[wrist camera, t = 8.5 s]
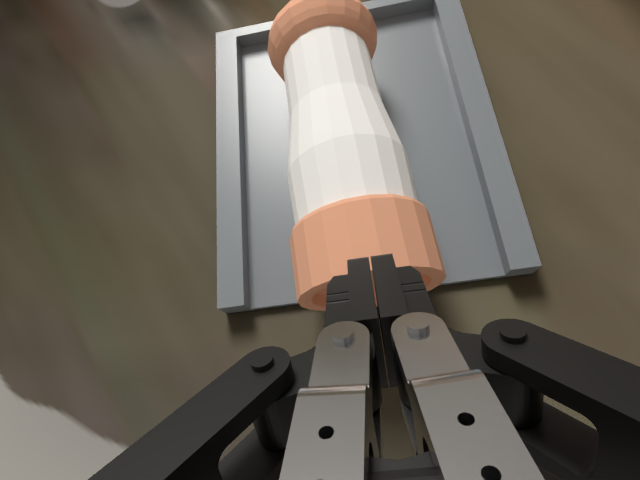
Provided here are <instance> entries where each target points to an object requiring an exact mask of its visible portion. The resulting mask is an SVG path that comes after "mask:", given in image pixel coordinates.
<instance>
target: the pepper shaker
mask: <svg viewBox="0 0 640 480" xmlns="http://www.w3.org/2000/svg"><path fill="white" fill-rule="evenodd" d="M376 45H377V27H376V24H375V22H374V19H373V17H372V14H371V13H370V12H369V10H368V9H367V8H366V7H365V6H364V5H363V4H362V3H361V2H360V1H359V0H291V1H290V2H289V3H288V4H287V5H286V6H285V7H284V8H283V9H282V10H281V11H280V12H279V13H278V14H277V16H276V18H275V20H274V22H273V24H272V26H271V29H270V33H269V39H268V50H267V51H268V54H269V58H270V61H271V64H272V66H273V68H274V69H275V71H276V72H277V73H278V75H279V76H280V77H281V78H282V80H283V81H284V82H285V86H286V94H287V101H288V109H289V116H290V134H289V156H288V177H287V178H288V184H289V190H290V196H291V202H292V208H293V214H294V220H295V226H294V227H293V230H292V233H291V237H290V248H291V256H292V264H293V272H294V280H295V288H296V296H297V302H298V304H299V305H300V306H301V307H303V308H306V309H309V310H316V311H326V296H327V284H328V283H329V282H330V280H331V279H332V278H333V276H338V275H346V274H348V268H347V260H349V259H356V258H363V257H369V263H370V270H371V276H372V283H373V289H374V296H375V302H376V307H377V299H376V292H375V285H374V278H373V271H372V264H371V257H370V256H377V255H384V254H391V253H392V255H393V258H394V262H395V265H396V267H404V266H412V267H413V268H415V269H416V270H417V271H419V272H420V274H421V276H422V279H423V282H424V284H425V287H426V291H427V292H428V291H430V290H432V289H434V288H435V287H437V286H438V285H440V284H441V283H443V281H444V280H445V278H446V273H445V269H444V265H443V262H442V258H441V254H440V251H439V247H438V243H437V240H436V236H435V232H434V229H433V225H432V221H431V218H430V214H429V212H428V211H427V209H426V207H425V206H424V205H423V204H422V203H421V202H419V201H418V200H417V196H416V191H415V187H414V183H413V178H412V174H411V169H410V165H409V161H408V156H407V154H406V151H405V149H404V147H403V145H402V143H401V141H400V139H399V137H398V135H397V132H396V130H395V128H394V126H393V124H392V122H391V120H390V118H389V115H388V113H387V111H386V109H385V107H384V105H383V103H382V99H381V95H380V91H379V88H378V84H377V80H376V76H375V72H374V69H373V65H372V58H373V56H374V53H375V50H376Z"/></svg>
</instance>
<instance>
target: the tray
mask: <svg viewBox="0 0 640 480" xmlns="http://www.w3.org/2000/svg"><path fill="white" fill-rule="evenodd" d="M362 4H363V5H364V6H365V7H366V8H367V9H368V10H369V12H370V13H371V14H372V17H373V19H374V22H375V24H376V27H377V45H376V50H375V53H374V56H373V58H372V65H373V69H374V72H375V76H376V80H377V84H378V88H379V91H380V95H381V99H382V103H383V105H384V107H385V109H386V111H387V113H388V115H389V118H390V120H391V122H392V124H393V126H394V128H395V130H396V132H397V135H398V137H399V139H400V141H401V143H402V145H403V147H404V149H405V151H406V154H407V156H408V161H409V165H410V169H411V174H412V178H413V183H414V187H415V191H416V196H417V200H418V201H419V202H421V203H422V204H423V205H424V206H425V207H426V209H427V211H428V212H429V214H430V218H431V221H432V225H433V229H434V232H435V236H436V240H437V243H438V247H439V251H440V254H441V258H442V262H443V265H444V269H445V273H446V278H445V280H444V281H443V283H441V284H440V285H448V284H455V283H463V282H471V281H478V280H486V279H494V278H501V277H509V276H517V275H524V274H532V273H534V272H535V271H536V270H537V269H538V268H540V267H541V266H542V265H541V261H540V258H539V255H538V252H537V248H536V245H535V242H534V239H533V236H532V232H531V229H530V226H529V223H528V219H527V216H526V213H525V210H524V207H523V203H522V200H521V197H520V194H519V190H518V187H517V184H516V181H515V178H514V174H513V171H512V168H511V165H510V161H509V158H508V155H507V152H506V148H505V145H504V142H503V139H502V136H501V132H500V129H499V126H498V123H497V119H496V116H495V113H494V110H493V107H492V103H491V100H490V97H489V94H488V90H487V87H486V84H485V81H484V78H483V74H482V71H481V68H480V65H479V61H478V58H477V55H476V52H475V49H474V45H473V42H472V39H471V36H470V32H469V29H468V26H467V23H466V20H465V16H464V13H463V10H462V7H461V3H460V0H372V1H367V2H362ZM273 22H274V21H271V22H266V23H261V24H256V25H252V26H247V27H242V28H237V29H232V30H228V31H223V32H218V33H216V150H217V309H219V310H221V311H223V312H225V313H234V312H241V311H249V310H257V309H264V308H272V307H280V306H287V305H295V304H298V302H297V296H296V288H295V280H294V272H293V264H292V256H291V248H290V237H291V233H292V230H293V227H294V226H295V220H294V214H293V208H292V202H291V196H290V190H289V184H288V178H287V177H288V156H289V134H290V116H289V109H288V101H287V94H286V86H285V82H284V81H283V80H282V78H281V77H280V76H279V75H278V73H277V72H276V71H275V69H274V68H273V66H272V64H271V61H270V58H269V54H268V51H267V50H268V39H269V33H270V29H271V26H272V24H273ZM440 285H438V286H440Z"/></svg>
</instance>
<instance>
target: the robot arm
mask: <svg viewBox="0 0 640 480" xmlns="http://www.w3.org/2000/svg"><path fill="white" fill-rule="evenodd" d="M370 257H371V264H372V271H373V278H374V285H375V292H376V299H377V306H378V312H379V319H380V325H381V331H382V337H383V344H384V350H385V356H386V363H387V369H388V375H389V381H390V387H395V386H398V390H399V395H400V403H401V410H402V414H403V418H404V421H405V425H406V428H407V432H408V436H409V439H410V443H411V446H412V450H413V454H414V456H413V457H410V458H407V459H403V460H391V459H384V458H383V431H382V410H381V403H382V393H381V388H386V387H388V384H387V377H386V370H385V363H384V356H383V350H382V343H381V336H380V329H379V322H378V315H377V309H376V302H375V296H374V289H373V283H372V276H371V270H370V263H369V257H363V258H356V259H349V260H347V268H348V274H346V275H338V276H333V278H332V279H331V280H330V282H329V283H328V284H327V296H326V315H325V328H324V329H323V330H322V331H321V332H320V334H319V335H318V338H317V343H316V346H315V347H313V348H312V349H310V350H308V351H306V352H304V353H301V354H298V355H296V356H293V357H290V356H289V354H288V352H287V351H286V350H284V349H282V348H280V347H274V346H270V347H263V348H259V349H256V350H254V351H252V352H250V353H249V354H247V355H246V356H244V357H243V358H242V359H241V360H239V361H238V362H237V363H235V364H234V365H233V366H232V367H230V368H229V369H228V370H227V371H225V372H224V373H223V374H221V375H220V376H219V377H218V378H216V379H215V380H214V381H213V382H211V383H210V384H209V385H207V386H206V387H205V388H204V389H202V390H201V391H200V392H199V393H197V394H196V395H195V396H194V397H192V398H191V399H190V400H188V401H187V402H186V403H185V404H183V405H182V406H181V407H180V408H178V409H177V410H176V411H174V412H173V413H172V414H171V415H169V416H168V417H167V418H166V419H164V420H163V421H162V422H160V423H159V424H158V425H157V426H155V427H154V428H153V429H152V430H150V431H149V432H148V433H146V434H145V435H144V436H143V437H141V438H140V439H139V440H138V441H136V442H135V443H134V444H132V445H131V446H130V447H129V448H127V449H126V450H125V451H124V452H122V453H121V454H120V455H119V456H117V457H116V458H115V459H113V460H112V461H111V462H110V463H108V464H107V465H106V466H104V467H103V468H102V469H101V470H100V471H98V472H97V473H96V474H94V475H93V476H92V477H90V478H89V479H88V480H640V367H638V366H636V365H633V364H631V363H628V362H626V361H623V360H621V359H618V358H616V357H613V356H611V355H608V354H606V353H603V352H601V351H598V350H596V349H594V348H591V347H589V346H586V345H584V344H581V343H579V342H576V341H574V340H571V339H569V338H566V337H564V336H561V335H559V334H556V333H554V332H551V331H549V330H546V329H544V328H541V327H539V326H536V325H534V324H531V323H528V322H526V321H522V320H517V319H500V320H495V321H492V322H490V323H488V324H487V325H486V326H485V327H484V328H483V329H482V332H481V335H477V334H467V333H461V332H457V331H454V330H451V329H449V328H447V326H446V324H445V323H444V321H443V320H442V319H441V318H439V317H438V316H436V313H435V311H434V308H433V305H432V303H431V300H430V297H429V295H428V292H427V291H426V287H425V284H424V282H423V279H422V276H421V274H420V272H419V271H417V270H416V269H415V268H413V267H412V266H404V267H396V265H395V262H394V258H393V255H392V253H391V254H384V255H377V256H370ZM544 395H546V396H548V397H550V398H552V399H554V400H556V401H557V402H559V403H561V404H563V405H565V406H567V407H569V408H571V409H573V410H575V411H576V412H578V413H580V414H582V415H584V416H585V417H586V418H588V419H589V420H590V421H591V422H592V423H593V424H594V426H595V427H596V429H597V430H595V429H593V428H591V427H589V426H588V425H586V424H584V423H582V422H580V421H578V420H577V419H575V418H573V417H571V416H569V415H567V414H565V413H564V412H562V411H560V410H558V409H556V408H554V407H552V406H551V405H549V404H547V403H545V402H543V396H544ZM252 422H253V424H254V427H255V429H253V430H252V431H251V432H250V433H249V434H248V435H247V436H246V437H245V438H244V439H243V440H242V441H241V442H240V443H239V444H238V445H237V446H236V447H235V448H234V449H233V450H232V451H230V452H229V453H228V454H227V455H226V456H225V457H224V458H223V459H222V460H221V461H220V462H219V459H220V456H221V454H222V452H223V451H224V449H225V448H226V447H227V446H228V445H229V444H230V443H231V442H232V441H233V440H234V439H235V438H236V437H238V436H239V435H240V434H241V433H242V432H243V431H244V430H245V429H246V428H247V427H248V426H249V425H250V424H251V423H252ZM538 466H539V467H538Z"/></svg>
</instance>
